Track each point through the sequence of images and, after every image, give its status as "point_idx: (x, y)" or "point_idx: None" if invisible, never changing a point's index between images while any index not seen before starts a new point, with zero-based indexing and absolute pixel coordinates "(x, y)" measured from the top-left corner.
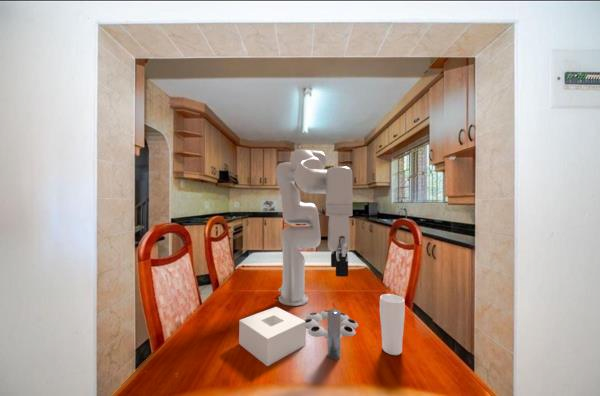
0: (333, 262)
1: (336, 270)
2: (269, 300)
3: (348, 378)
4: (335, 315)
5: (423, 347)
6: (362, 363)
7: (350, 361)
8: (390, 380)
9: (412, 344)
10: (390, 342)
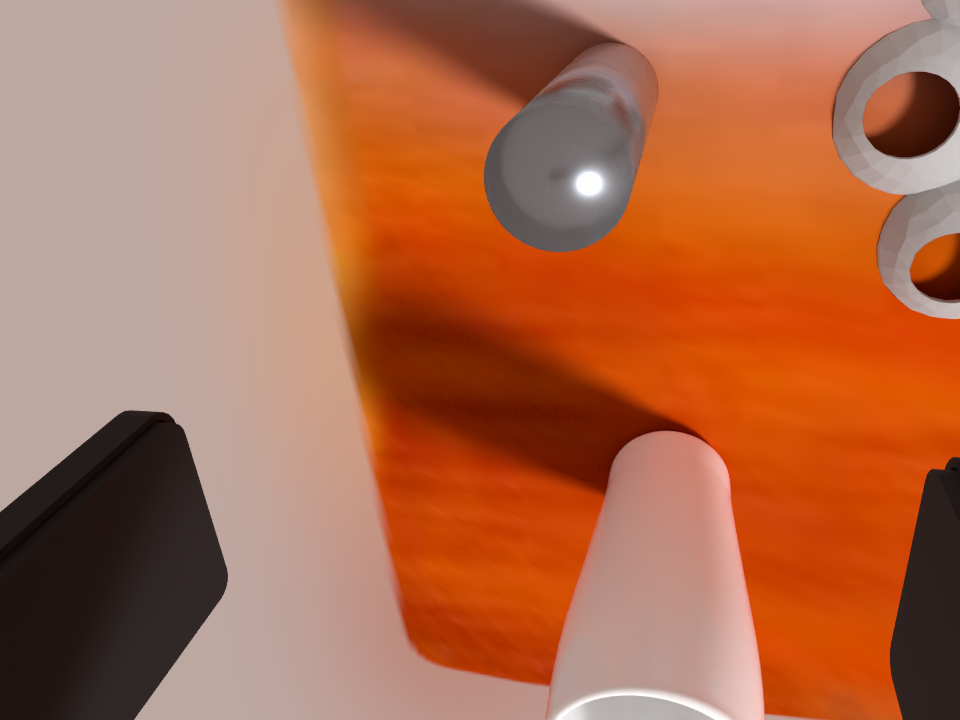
0: (951, 585)
1: (62, 476)
2: None
3: (395, 163)
4: (488, 186)
5: None
6: (535, 272)
7: None
8: (413, 372)
9: None
10: (606, 494)
